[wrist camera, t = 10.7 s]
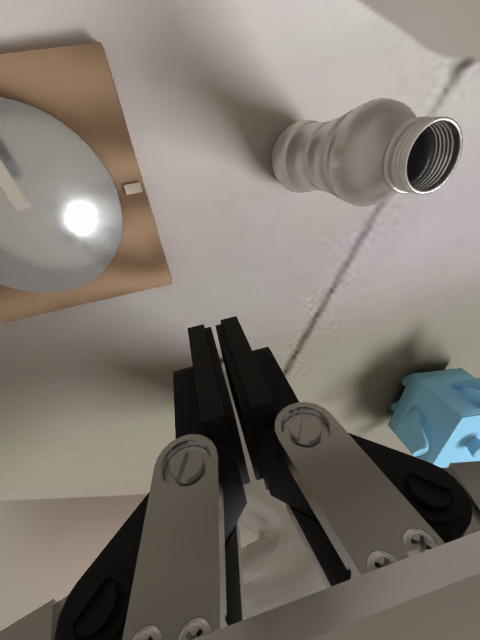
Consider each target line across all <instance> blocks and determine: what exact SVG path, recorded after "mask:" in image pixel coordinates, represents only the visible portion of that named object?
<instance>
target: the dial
mask: <svg viewBox="0 0 480 640" xmlns="http://www.w3.org/2000/svg"><path fill="white" fill-rule="evenodd" d="M122 231H123V211H122V204H121V200H120V196H119V192H118V190H117V187H116V185H115V182H114V180H113V178H112V176H111V174H110V172H109V170H108V169H107V167H106V166H105V164H104V163H103V161H102V160H101V158H100V157H99V155H98V154H97V153H96V152H95V151H94V150H93V148H92V147H91V146H90V145H89V144H88V143H87V142H86V141H85V140H84V139H83V138H82V137H81V136H80V135H79V134H78V133H76V132H75V131H74V130H72V129H71V128H70V127H69V126H67V125H66V124H65V123H63V122H61V121H60V120H58V119H57V118H55V117H54V116H52V115H50V114H48V113H46V112H44V111H42V110H40V109H38V108H35V107H32V106H30V105H27V104H24V103H21V102H19V101H16V100H11V99H7V98H3V97H0V284H1V285H3V286H6V287H10V288H14V289H17V290H23V291H28V292H39V293H50V292H60V291H66V290H70V289H74V288H77V287H79V286H81V285H84V284H86V283H88V282H89V281H91V280H93V279H94V278H95V277H97V276H98V275H99V274H100V273H102V272H103V270H104V269H105V268H106V267H107V266H108V265H109V263H110V262H111V260H112V259H113V257H114V255H115V253H116V251H117V249H118V247H119V244H120V240H121V237H122Z"/></svg>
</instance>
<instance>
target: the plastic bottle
mask: <svg viewBox="0 0 480 640" xmlns="http://www.w3.org/2000/svg"><path fill="white" fill-rule="evenodd" d="M462 145H463V138H462V132H461V129H460V126H459V125H458V123H457V122H456V121H454V120H453V119H451V118H448V117H433V118H430V117H416V115H415V114H414V112H413V111H412V110H411V108H410V107H408V106H407V105H406V104H404V103H402V102H399V101H396V100H392V99H389V98H379V99H375V100H371V101H369V102H367V103H364V104H362V105H360V106H358V107H357V108H355V109H353V110H352V111H350V112H348V113H346V114H345V115H343V116H341V117H339V118H337V119H334V120H332V121H328V122H317V121H312V120H302V121H297V122H295V123H293V124H292V125H290V126H289V127H288V128H287V129H286V130H284V131H283V132H282V134H281V135H280V136H279V137H278V139H277V141H276V143H275V146H274V148H273V153H272V168H273V171H274V174H275V176H276V178H277V180H278V181H279V182H280V183H281V184H282V185H283V186H284V187H285V188H286V189H288V190H290V191H292V192H297V193H302V192H309V191H313V190H321V191H324V192H327V193H331V194H333V195H334V196H336V197H338V198H340V199H342V200H343V201H345V202H347V203H350V204H353V205H356V206H370V205H374V204H378V203H381V202H384V201H386V200H388V199H390V198H391V197H392V196H394V195H395V194H396V193H403V194H405V193H414V194H427V193H430V192H433V191H435V190H437V189H438V188H439V187H441V186H442V185H443V184H444V183H445V182H446V181H447V180H448V179H449V177H450V176H451V175H452V173H453V171H454V170H455V168H456V166H457V164H458V162H459V159H460V156H461V152H462Z"/></svg>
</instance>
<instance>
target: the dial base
mask: <svg viewBox="0 0 480 640" xmlns="http://www.w3.org/2000/svg"><path fill="white" fill-rule="evenodd" d="M0 97H3V98H7V99H11V100H16V101H19V102H21V103H24V104H27V105H30V106H32V107H35V108H38V109H40V110H42V111H44V112H46V113H48V114H50V115H52V116H54V117H55V118H57V119H58V120H60V121H61V122H63V123H65V124H66V125H67V126H69V127H70V128H71V129H72V130H74V131H75V132H76V133H78V134H79V135H80V136H81V137H82V138H83V139H84V140H85V141H86V142H87V143H88V144H89V145H90V146H91V147H92V148H93V150H94V151H95V152H96V153H97V154H98V155H99V157H100V158H101V160H102V161H103V163H104V164H105V166H106V167H107V169H108V170H109V172H110V174H111V176H112V178H113V180H114V182H115V185H116V187H117V190H118V192H119V196H120V200H121V204H122V211H123V231H122V237H121V240H120V244H119V247H118V249H117V251H116V253H115V255H114V257H113V259H112V260H111V262H110V263H109V265H108V266H107V267H106V268H105V269H104V270H103V272H102V273H100V274H99V275H98V276H97V277H95V278H94V279H93V280H91V281H89V282H88V283H86V284H84V285H81V286H79V287H77V288H74V289H70V290H66V291H60V292H50V293H39V292H28V291H23V290H17V289H14V288H10V287H6V286H3V285H1V284H0V323H1V322H6V321H10V320H15V319H19V318H24V317H28V316H32V315H37V314H41V313H46V312H50V311H54V310H59V309H63V308H68V307H72V306H77V305H81V304H85V303H90V302H94V301H99V300H103V299H107V298H112V297H116V296H121V295H125V294H130V293H134V292H138V291H143V290H147V289H152V288H156V287H160V286H165V285H169V284H172V279H171V275H170V272H169V269H168V265H167V262H166V258H165V255H164V252H163V248H162V245H161V241H160V238H159V235H158V231H157V228H156V224H155V221H154V218H153V214H152V211H151V207H150V204H149V201H148V197H147V194H146V190H145V187H144V184H143V180H142V177H141V173H140V170H139V167H138V163H137V160H136V156H135V153H134V150H133V146H132V143H131V139H130V136H129V133H128V129H127V126H126V122H125V119H124V116H123V112H122V109H121V105H120V102H119V99H118V95H117V92H116V88H115V85H114V82H113V78H112V75H111V71H110V68H109V65H108V61H107V58H106V54H105V51H104V48H103V46H102V44H101V42H95V43H87V44H79V45H70V46H62V47H53V48H45V49H37V50H28V51H20V52H12V53H3V54H0Z"/></svg>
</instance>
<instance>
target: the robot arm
mask: <svg viewBox="0 0 480 640" xmlns="http://www.w3.org/2000/svg"><path fill="white" fill-rule="evenodd" d="M216 330H217V334H218V339H219V343H220V347H221V352H222V356H223V361H224V362H222V363H221V362H220V359H219V355H218V351H217V348H216V344H215V341H214V337H213V333H212V330H211V327H208V328H204V324H203V325H199V326H195V327H191V328H188V334H189V341H190V348H191V355H192V362H193V367H189V368H185V369H182V370H178V371H174V373H173V382H174V406H175V430H176V439H175V440H174V441H172V442H170V443H169V444H168V445H167V446H166V447H165V448H164V449H163V450H162V452H161V453H160V455H159V456H158V458H157V461H156V464H155V467H154V471H153V477H152V482H151V488H150V492H149V493H148V495H147V496H146V497H145V498H144V500H143V501H142V502H141V503H140V505H139V506H138V507H137V508H136V510H135V511H134V512H133V514H132V515H131V516H130V517H129V518H128V520H127V521H126V522H125V523H124V525H123V526H122V527H121V528H120V530H119V531H118V532H117V533H116V535H115V536H114V537H113V538H112V540H111V541H110V542H109V543H108V545H107V546H106V547H105V548H104V550H103V551H102V552H101V553H100V555H99V556H98V557H97V558H96V560H95V561H94V562H93V563H92V565H91V566H90V567H89V568H88V570H87V571H86V572H85V573H84V575H83V576H82V577H81V579H80V580H79V581H78V582H77V583H76V585H75V586H74V588H73V589H72V591H71V593H70V594H69V595H68V596H67V597H65V598H63V599H62V600H60V601H58V602H57V601H55V600H54V599H53V600H51V601H49V602H48V603H46V604H44V605H43V606H41V607H39V608H38V609H36V610H35V611H33V612H31V613H30V614H28V615H26V616H25V617H23V618H22V619H20V620H18V621H16V622H15V623H13V624H12V625H10V626H8V627H7V628H5V629H3V630H2V631H0V640H480V461H472V462H457V463H450V464H449V466H448V467H445V468H440V467H438V466H436V465H434V464H432V463H430V462H427V461H424V460H421V459H419V458H416V457H413V456H410V455H408V454H405V453H402V452H399V451H397V450H394V449H391V448H388V447H386V446H383V445H380V444H377V443H374V442H372V441H369V440H366V439H363V438H361V437H358V436H355V435H352V434H350V433H347V431H346V430H345V429H344V428H343V427H342V426H341V425H340V424H339V422H338V421H337V420H336V419H335V418H334V417H333V416H332V414H331V413H329V412H328V411H327V410H326V409H325V408H323V407H321V406H319V405H317V404H313V403H308V402H299V401H298V399H297V397H296V396H295V394H294V392H293V390H292V388H291V387H290V385H289V383H288V381H287V379H286V378H285V376H284V374H283V372H282V370H281V368H280V367H279V365H278V363H277V361H276V359H275V358H274V356H273V354H272V352H271V350H270V349H269V348H268V347H265V348H261V349H257V350H254V351H252V350H251V347H250V345H249V343H248V341H247V339H246V336H245V334H244V332H243V330H242V328H241V325H240V323H239V321H238V319H237V317H236V316H235V317H231V318H227V319H223V320H221V324H220V325H216ZM238 521H239V522H240V523H241V524H242V525H243V526H245V527H246V528H247V529H248V530H249V531H250V532H252V533H253V534H254V535H255V536H257V537H258V538H259V539H258V540H257V541H255V542H252V543H250V544H248V545H247V546H245V547H243V548H241V545H240V530H239V522H238Z"/></svg>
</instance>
